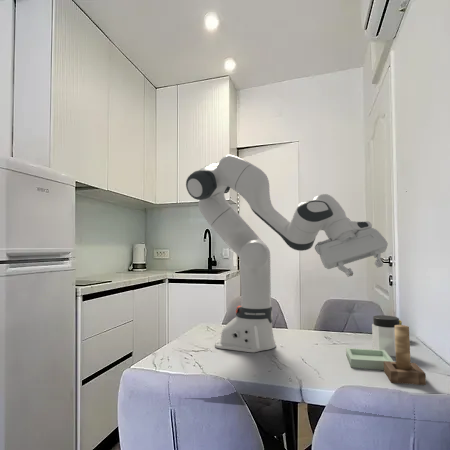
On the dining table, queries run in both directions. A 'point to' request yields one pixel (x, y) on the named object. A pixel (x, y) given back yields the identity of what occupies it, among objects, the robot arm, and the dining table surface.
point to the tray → (367, 358)
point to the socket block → (405, 374)
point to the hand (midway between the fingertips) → (365, 270)
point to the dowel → (402, 347)
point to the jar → (384, 333)
